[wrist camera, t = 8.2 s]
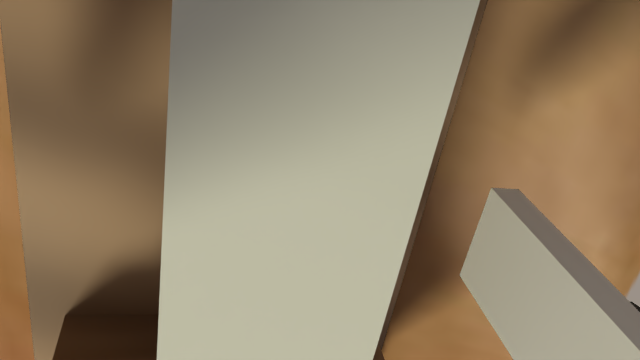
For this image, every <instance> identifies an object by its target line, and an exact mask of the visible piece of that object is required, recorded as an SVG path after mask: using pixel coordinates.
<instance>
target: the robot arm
mask: <svg viewBox="0 0 640 360" xmlns="http://www.w3.org/2000/svg"><path fill="white" fill-rule="evenodd" d="M460 277H461V278H462V280H463V281H464V283H465V284H466V286H467V288H468V289H469V291H470V292H471V294H472V295H473V297H474V299H475V300H476V302H477V303H478V305H479V306H480V308H481V309H482V311H483V313H484V314H485V316H486V317H487V319H488V320H489V322H490V324H491V325H492V327H493V328H494V330H495V331H496V333H497V335H498V336H499V338H500V339H501V341H502V342H503V344H504V345H505V347H506V349H507V350H508V352H509V353H510V355H511V356H512V358H513V360H640V307H639V306H637V305H636V304H634V303H633V302H629V301H628V300H627V299H626V298H625V297H624V296H623V295H622V294H621V293H620V292H619V291H618V290H617V289H616V288H615V287H614V286H613V285H612V284H611V283H610V282H609V281H608V280H607V279H606V278H605V276H604V275H603V274H602V273H601V272H600V271H599V270H598V269H597V268H596V267H595V266H594V265H593V264H592V263H591V262H590V261H589V260H588V259H587V258H586V257H585V256H584V255H583V254H582V253H581V252H580V251H579V250H578V249H577V248H576V247H575V246H574V245H573V244H572V243H571V242H570V241H569V240H568V239H567V238H566V237H565V236H564V235H563V234H562V233H561V232H560V231H559V230H558V229H557V228H556V227H555V226H554V225H553V224H552V223H551V222H550V221H549V220H548V219H547V218H546V217H545V216H544V215H543V214H542V213H541V212H540V211H539V210H538V209H537V208H536V207H535V206H534V205H533V204H532V203H531V202H530V201H529V200H528V199H527V198H526V197H525V195H524V194H523V193H522V192H521V191H520V190H519V189H504V188H491V190H490V193H489V196H488V199H487V201H486V204H485V207H484V210H483V212H482V215H481V218H480V221H479V223H478V226H477V229H476V232H475V234H474V237H473V240H472V243H471V245H470V248H469V251H468V254H467V256H466V259H465V262H464V265H463V267H462V270H461V273H460Z"/></svg>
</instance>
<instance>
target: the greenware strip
mask: <svg viewBox="0 0 640 360" xmlns="http://www.w3.org/2000/svg"><path fill="white" fill-rule="evenodd" d="M479 2H480V0H172V19H171V42H170V65H169V88H168V111H167V134H166V157H165V180H164V203H163V226H162V249H161V272H160V295H159V318H158V341H157V360H373V358H374V354H375V351H376V348H377V344H378V341H379V338H380V334H381V331H382V327H383V324H384V321H385V317H386V314H387V311H388V307H389V304H390V301H391V297H392V294H393V291H394V287H395V284H396V281H397V277H398V274H399V270H400V267H401V264H402V260H403V257H404V254H405V250H406V247H407V244H408V240H409V237H410V234H411V230H412V227H413V224H414V220H415V217H416V214H417V210H418V207H419V203H420V200H421V197H422V193H423V190H424V187H425V183H426V180H427V177H428V173H429V170H430V167H431V163H432V160H433V157H434V153H435V150H436V146H437V143H438V140H439V136H440V133H441V130H442V126H443V123H444V120H445V116H446V113H447V110H448V106H449V103H450V100H451V96H452V93H453V90H454V86H455V83H456V79H457V76H458V73H459V69H460V66H461V63H462V59H463V56H464V53H465V49H466V46H467V43H468V39H469V36H470V33H471V29H472V26H473V22H474V19H475V16H476V12H477V9H478V6H479Z"/></svg>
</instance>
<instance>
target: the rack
mask: <svg viewBox="0 0 640 360" xmlns="http://www.w3.org/2000/svg"><path fill="white" fill-rule="evenodd" d="M487 1H488V0H480V2H479V6H478V9H477V12H476V16H475V19H474V22H473V26H472V29H471V33H470V36H469V39H468V43H467V46H466V49H465V53H464V56H463V59H462V63H461V66H460V69H459V73H458V76H457V79H456V83H455V86H454V90H453V93H452V96H451V100H450V103H449V106H448V110H447V113H446V116H445V120H444V123H443V126H442V130H441V133H440V136H439V140H438V143H437V146H436V150H435V153H434V157H433V160H432V163H431V167H430V170H429V173H428V177H427V180H426V183H425V187H424V190H423V193H422V197H421V200H420V203H419V207H418V210H417V214H416V217H415V220H414V224H413V227H412V230H411V234H410V237H409V240H408V244H407V247H406V250H405V254H404V257H403V260H402V264H401V267H400V270H399V274H398V277H397V281H396V284H395V287H394V291H393V294H392V297H391V301H390V304H389V307H388V311H387V314H386V317H385V321H384V324H383V327H382V331H381V334H380V338H379V341H378V344H377V348H376V351H375V354H374V358H373V360H384V357H383V354H382V352H381V350H382V346H383V343H384V340H385V337H386V333H387V330H388V327H389V323H390V320H391V317H392V314H393V310H394V307H395V304H396V300H397V297H398V294H399V291H400V287H401V284H402V281H403V277H404V274H405V271H406V268H407V264H408V261H409V258H410V254H411V251H412V248H413V244H414V241H415V238H416V235H417V231H418V228H419V225H420V221H421V218H422V215H423V212H424V208H425V205H426V202H427V198H428V195H429V192H430V189H431V185H432V182H433V179H434V175H435V172H436V169H437V166H438V162H439V159H440V156H441V152H442V149H443V146H444V143H445V139H446V136H447V133H448V129H449V126H450V123H451V120H452V116H453V113H454V110H455V106H456V103H457V100H458V97H459V93H460V90H461V87H462V83H463V80H464V77H465V73H466V70H467V67H468V64H469V60H470V57H471V54H472V50H473V47H474V44H475V41H476V37H477V34H478V31H479V27H480V24H481V21H482V18H483V14H484V11H485V8H486V4H487ZM171 19H172V0H0V23H1V33H2V43H3V53H4V63H5V73H6V82H7V92H8V102H9V112H10V122H11V132H12V142H13V151H14V161H15V171H16V181H17V191H18V201H19V211H20V221H21V230H22V240H23V250H24V260H25V270H26V280H27V290H28V299H29V309H30V319H31V329H32V339H33V349H34V359H35V360H157V341H158V318H159V295H160V272H161V249H162V226H163V203H164V180H165V157H166V134H167V111H168V88H169V65H170V42H171Z"/></svg>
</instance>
